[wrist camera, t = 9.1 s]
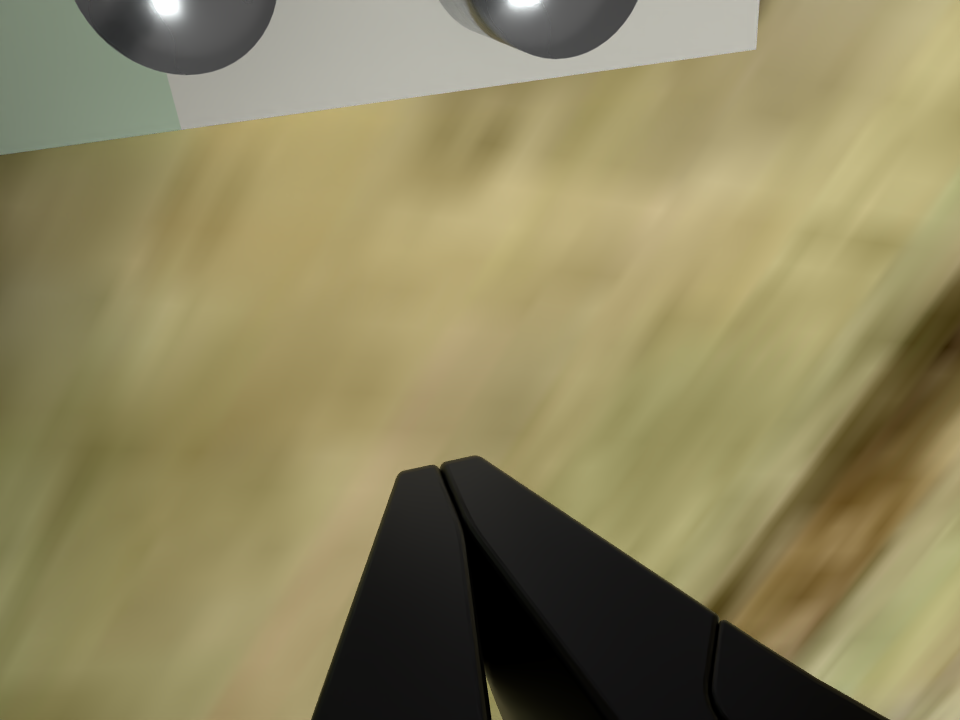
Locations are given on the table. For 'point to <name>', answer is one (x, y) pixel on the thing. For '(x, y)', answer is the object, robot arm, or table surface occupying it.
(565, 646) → the robot arm
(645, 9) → the tray
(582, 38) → the spacer posts
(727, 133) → the table surface
